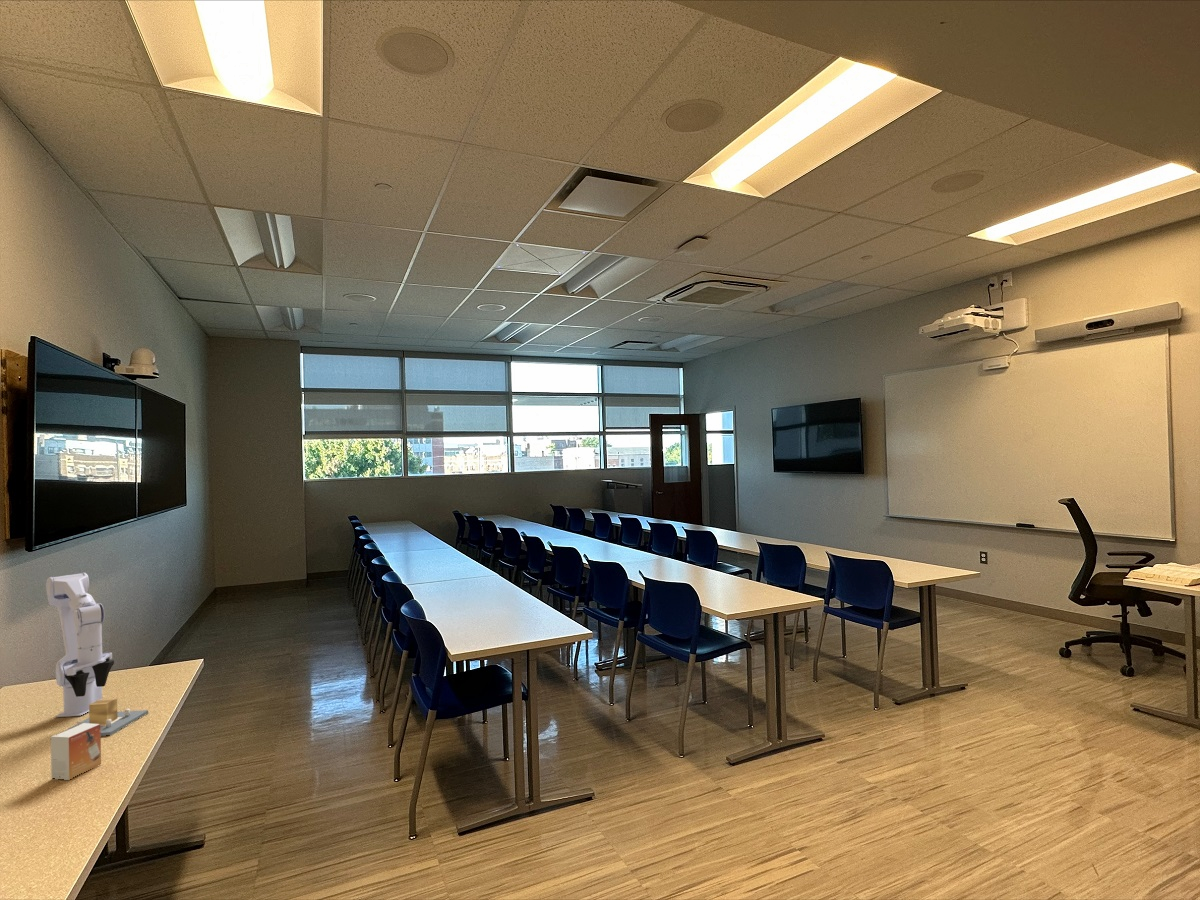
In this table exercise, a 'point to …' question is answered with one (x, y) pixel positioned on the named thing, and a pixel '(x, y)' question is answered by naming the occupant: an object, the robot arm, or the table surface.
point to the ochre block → (103, 711)
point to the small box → (75, 751)
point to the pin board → (117, 721)
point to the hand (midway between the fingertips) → (90, 691)
